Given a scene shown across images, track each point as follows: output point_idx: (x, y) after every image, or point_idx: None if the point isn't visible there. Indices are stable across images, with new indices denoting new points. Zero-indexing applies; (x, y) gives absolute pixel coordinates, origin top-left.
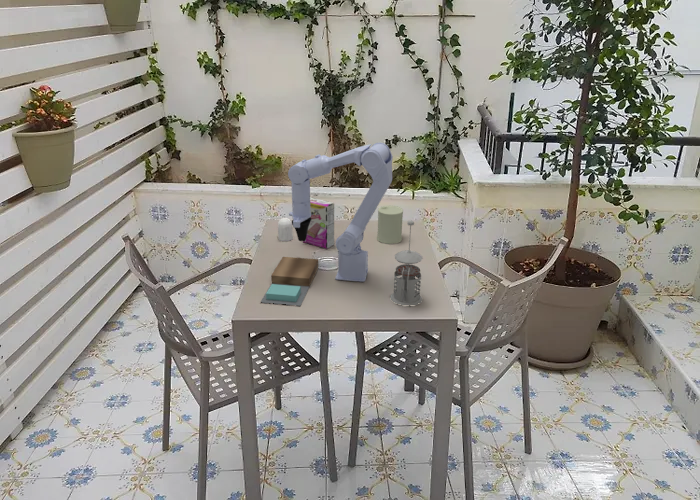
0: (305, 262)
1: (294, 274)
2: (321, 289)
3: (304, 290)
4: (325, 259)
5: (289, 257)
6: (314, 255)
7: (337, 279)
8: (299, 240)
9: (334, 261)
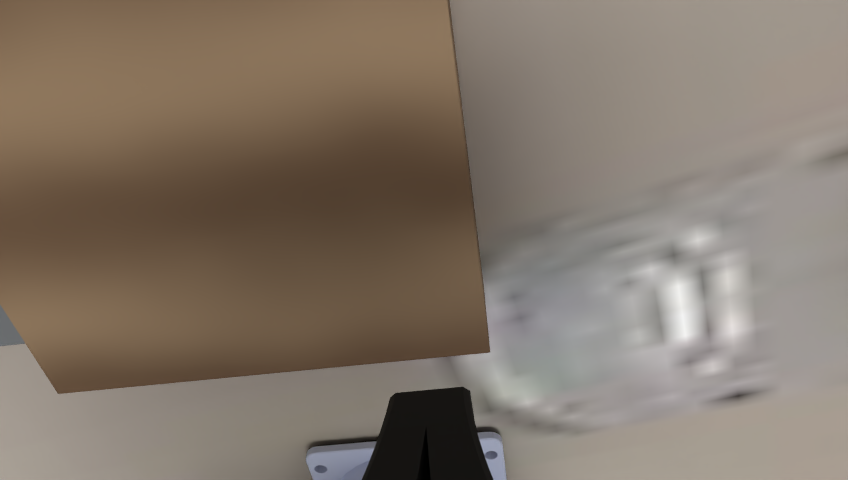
0: (368, 268)
1: (42, 261)
2: (120, 406)
3: (5, 326)
4: (678, 293)
5: (442, 41)
6: (774, 173)
7: (308, 460)
8: (390, 408)
9: (644, 365)
